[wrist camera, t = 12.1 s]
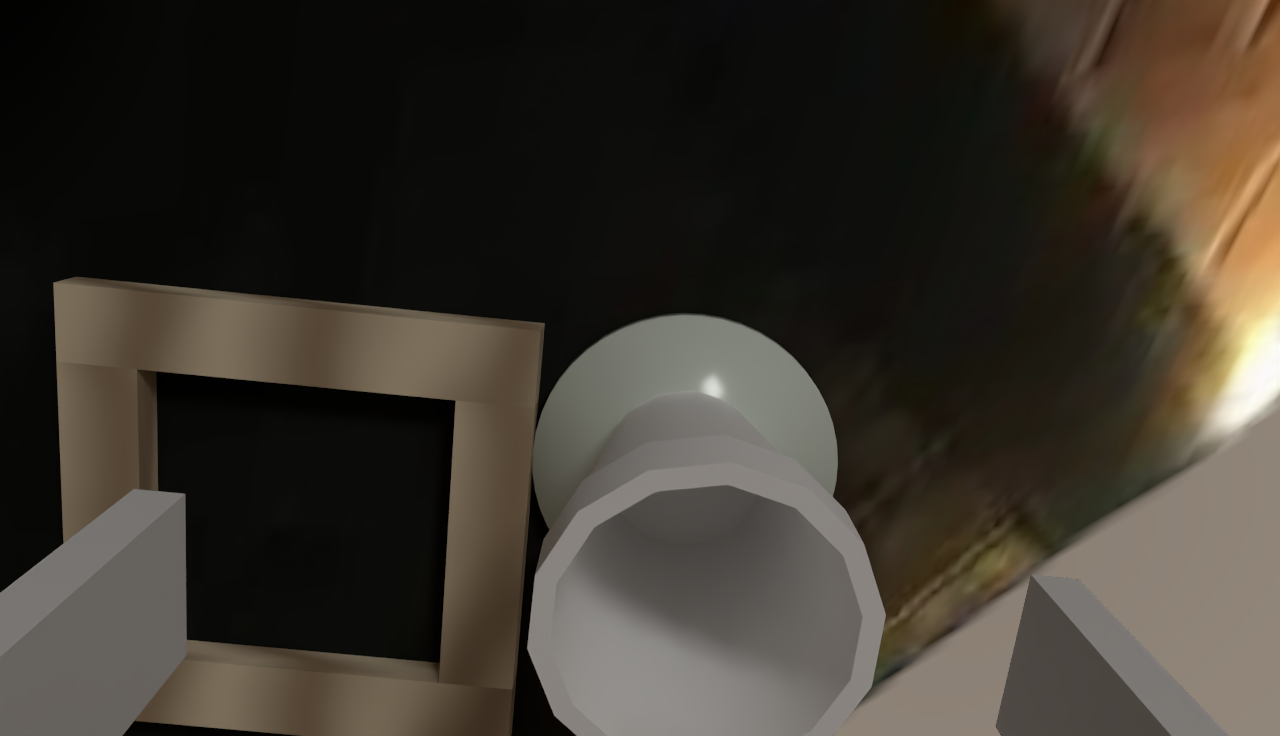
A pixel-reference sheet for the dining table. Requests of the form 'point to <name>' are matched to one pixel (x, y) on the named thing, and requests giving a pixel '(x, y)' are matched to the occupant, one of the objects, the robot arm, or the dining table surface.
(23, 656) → the robot arm
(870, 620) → the foam cup
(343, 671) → the birch pocket board
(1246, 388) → the dining table surface
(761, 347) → the pale grey-green round part
